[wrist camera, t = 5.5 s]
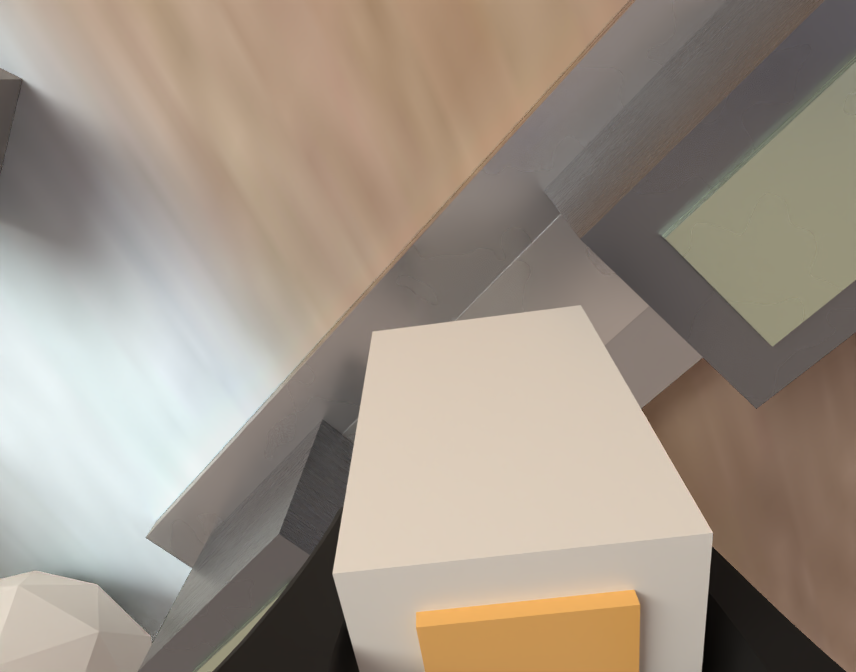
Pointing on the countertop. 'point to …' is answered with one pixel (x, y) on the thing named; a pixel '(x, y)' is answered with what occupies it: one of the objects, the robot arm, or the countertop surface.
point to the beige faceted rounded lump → (65, 627)
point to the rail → (575, 268)
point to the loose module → (515, 509)
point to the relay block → (7, 107)
